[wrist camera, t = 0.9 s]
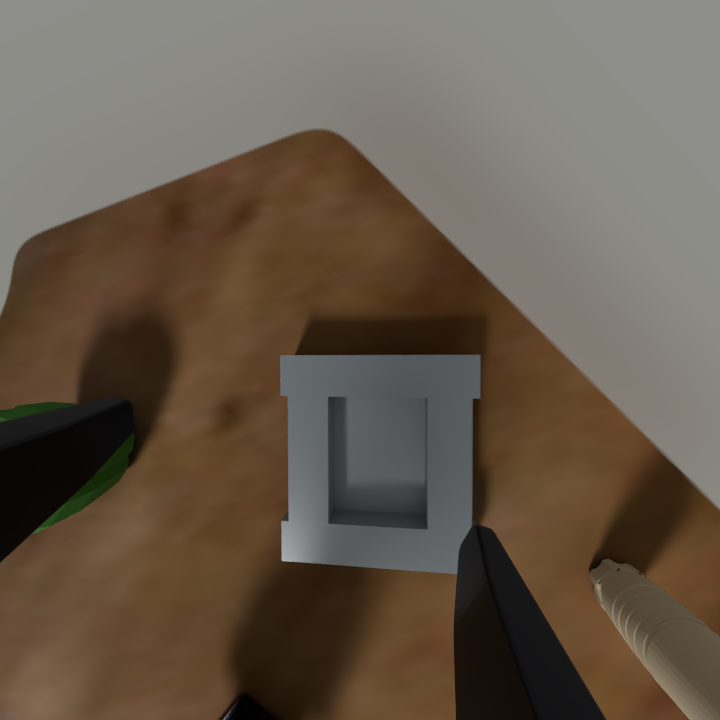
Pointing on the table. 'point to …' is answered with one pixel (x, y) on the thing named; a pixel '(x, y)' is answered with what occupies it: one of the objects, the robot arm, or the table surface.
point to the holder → (379, 459)
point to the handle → (663, 637)
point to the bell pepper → (97, 483)
